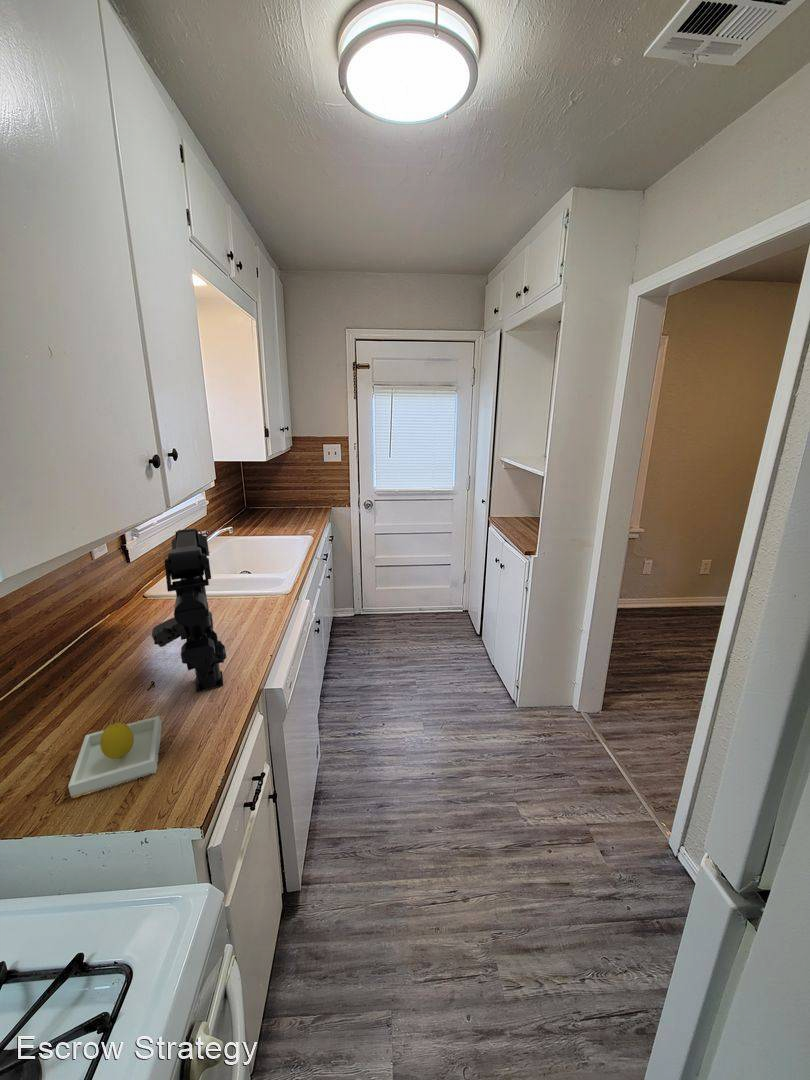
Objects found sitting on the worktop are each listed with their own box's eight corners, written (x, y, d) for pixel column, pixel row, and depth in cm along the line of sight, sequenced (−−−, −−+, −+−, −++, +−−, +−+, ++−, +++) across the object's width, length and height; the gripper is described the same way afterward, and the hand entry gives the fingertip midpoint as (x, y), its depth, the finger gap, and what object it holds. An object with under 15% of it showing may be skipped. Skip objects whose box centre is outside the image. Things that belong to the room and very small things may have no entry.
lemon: (102, 756, 86) (93, 724, 84) (133, 742, 90) (125, 711, 87) (108, 772, 82) (98, 739, 80) (140, 756, 86) (132, 724, 83)
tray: (88, 746, 89) (85, 735, 88) (161, 726, 95) (159, 715, 94) (71, 799, 77) (68, 786, 76) (156, 773, 83) (153, 761, 82)
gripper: (154, 596, 96) (166, 655, 101) (146, 633, 80) (160, 702, 85) (207, 587, 101) (216, 644, 106) (209, 621, 85) (220, 687, 90)
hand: (203, 667), depth 96 cm, fingers open, 9 cm apart
